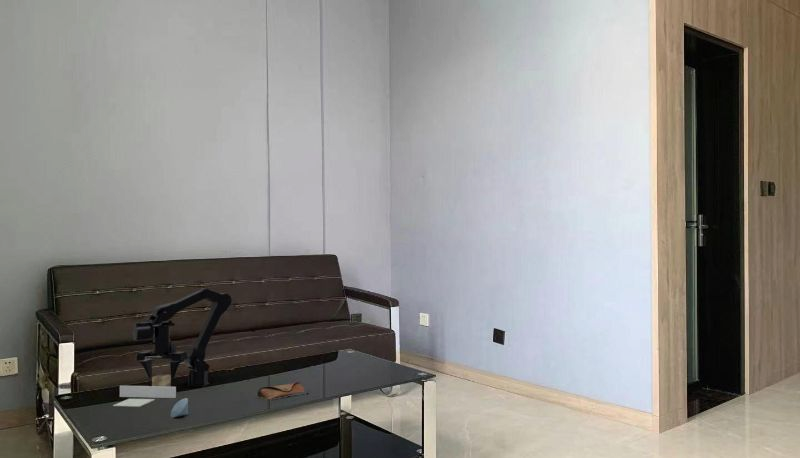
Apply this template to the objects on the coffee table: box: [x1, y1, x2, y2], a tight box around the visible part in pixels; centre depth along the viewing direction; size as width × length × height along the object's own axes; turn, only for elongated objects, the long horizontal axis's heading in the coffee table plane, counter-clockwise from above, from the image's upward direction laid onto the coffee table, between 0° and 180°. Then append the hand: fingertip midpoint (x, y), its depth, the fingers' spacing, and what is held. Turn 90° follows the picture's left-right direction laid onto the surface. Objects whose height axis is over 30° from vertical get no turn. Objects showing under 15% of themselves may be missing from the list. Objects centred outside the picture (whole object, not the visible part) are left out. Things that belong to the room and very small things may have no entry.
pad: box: [112, 398, 156, 408], centre depth 223 cm, size 10×10×1 cm
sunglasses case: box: [257, 381, 306, 399], centre depth 232 cm, size 18×7×7 cm
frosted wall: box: [119, 385, 177, 399], centre depth 232 cm, size 22×1×4 cm, turn 82°
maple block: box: [151, 374, 172, 387], centre depth 242 cm, size 5×5×6 cm
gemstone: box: [170, 397, 189, 419], centre depth 205 cm, size 8×8×5 cm
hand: (161, 378), depth 242 cm, fingers open, 9 cm apart
